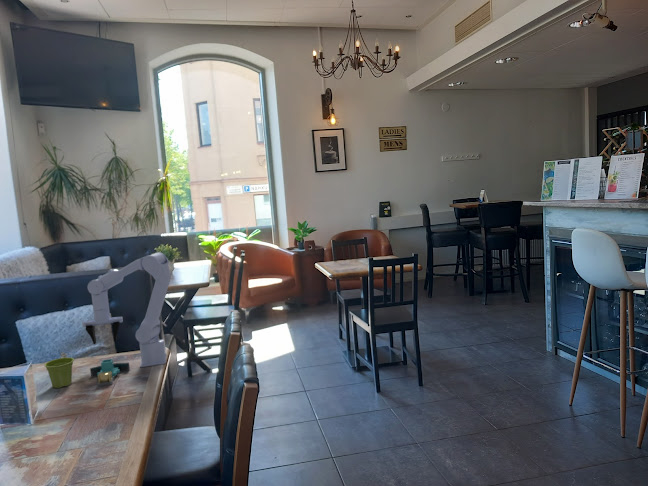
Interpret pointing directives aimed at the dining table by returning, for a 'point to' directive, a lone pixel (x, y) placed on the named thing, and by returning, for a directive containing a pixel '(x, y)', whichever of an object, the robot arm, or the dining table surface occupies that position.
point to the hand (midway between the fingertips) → (105, 342)
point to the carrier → (108, 373)
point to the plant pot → (60, 371)
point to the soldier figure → (63, 355)
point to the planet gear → (108, 367)
